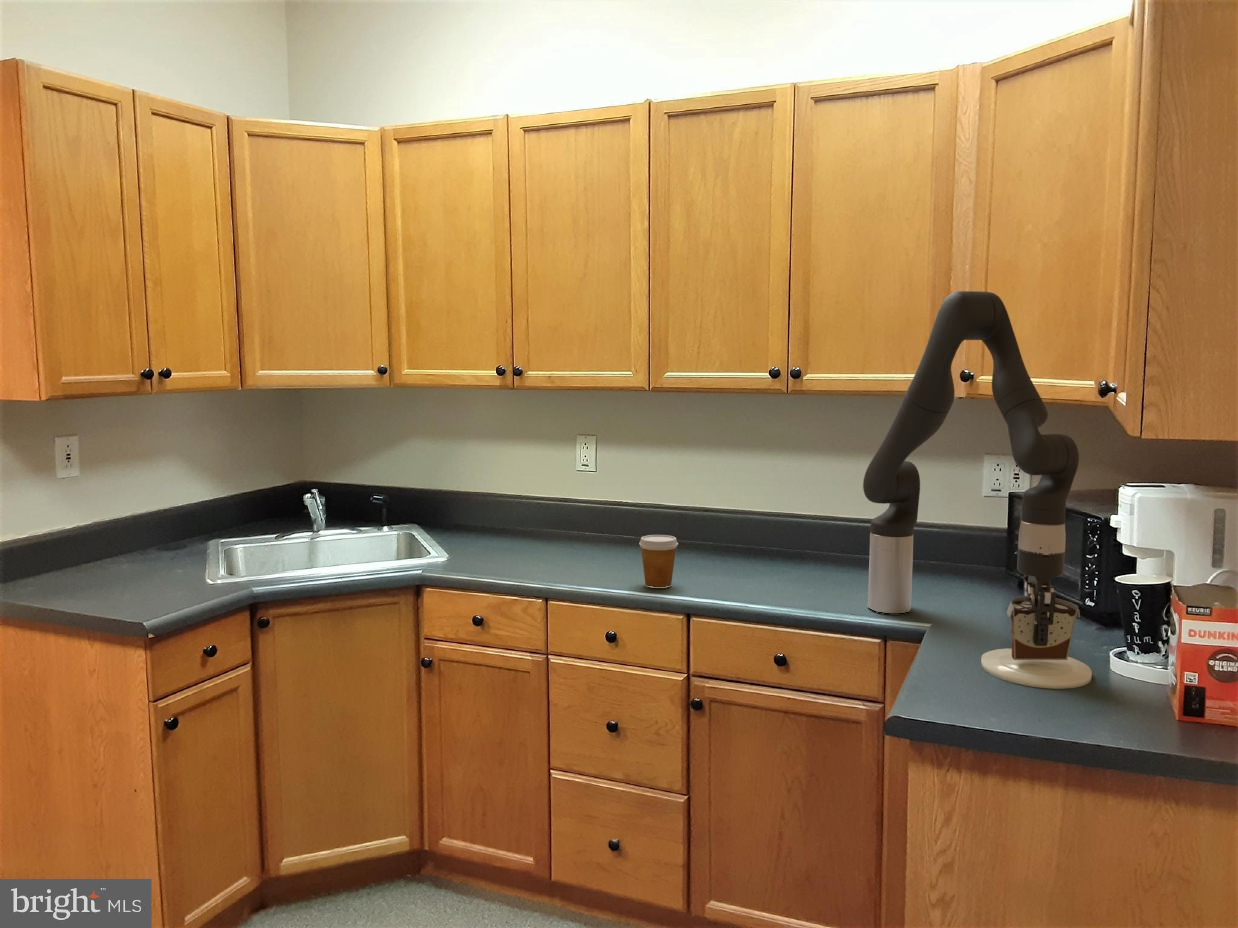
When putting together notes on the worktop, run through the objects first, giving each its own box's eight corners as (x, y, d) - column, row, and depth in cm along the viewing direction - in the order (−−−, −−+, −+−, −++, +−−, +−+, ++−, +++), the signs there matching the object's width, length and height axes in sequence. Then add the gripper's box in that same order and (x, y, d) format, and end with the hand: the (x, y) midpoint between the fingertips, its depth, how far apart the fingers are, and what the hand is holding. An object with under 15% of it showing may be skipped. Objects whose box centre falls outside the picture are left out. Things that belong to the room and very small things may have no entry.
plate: (973, 651, 174) (974, 644, 174) (1076, 658, 170) (1076, 651, 170) (989, 683, 157) (990, 676, 156) (1104, 692, 152) (1104, 685, 152)
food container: (1059, 646, 167) (1064, 594, 165) (1075, 659, 161) (1081, 606, 159) (992, 646, 167) (996, 594, 165) (1005, 659, 161) (1010, 606, 159)
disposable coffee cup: (683, 583, 226) (683, 536, 225) (669, 592, 218) (669, 543, 216) (648, 579, 230) (648, 533, 229) (632, 588, 222) (632, 539, 220)
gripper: (1010, 538, 169) (1006, 627, 170) (1027, 554, 155) (1021, 650, 157) (1054, 540, 167) (1049, 629, 169) (1075, 556, 153) (1069, 654, 155)
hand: (1036, 639), depth 163 cm, fingers closed on food container, 5 cm apart
